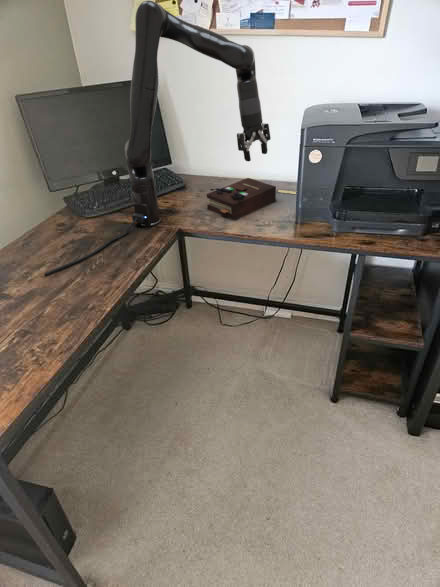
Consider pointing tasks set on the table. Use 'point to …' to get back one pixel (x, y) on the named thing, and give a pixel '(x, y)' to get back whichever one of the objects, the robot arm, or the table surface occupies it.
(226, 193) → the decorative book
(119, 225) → the table surface
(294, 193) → the tape mark
